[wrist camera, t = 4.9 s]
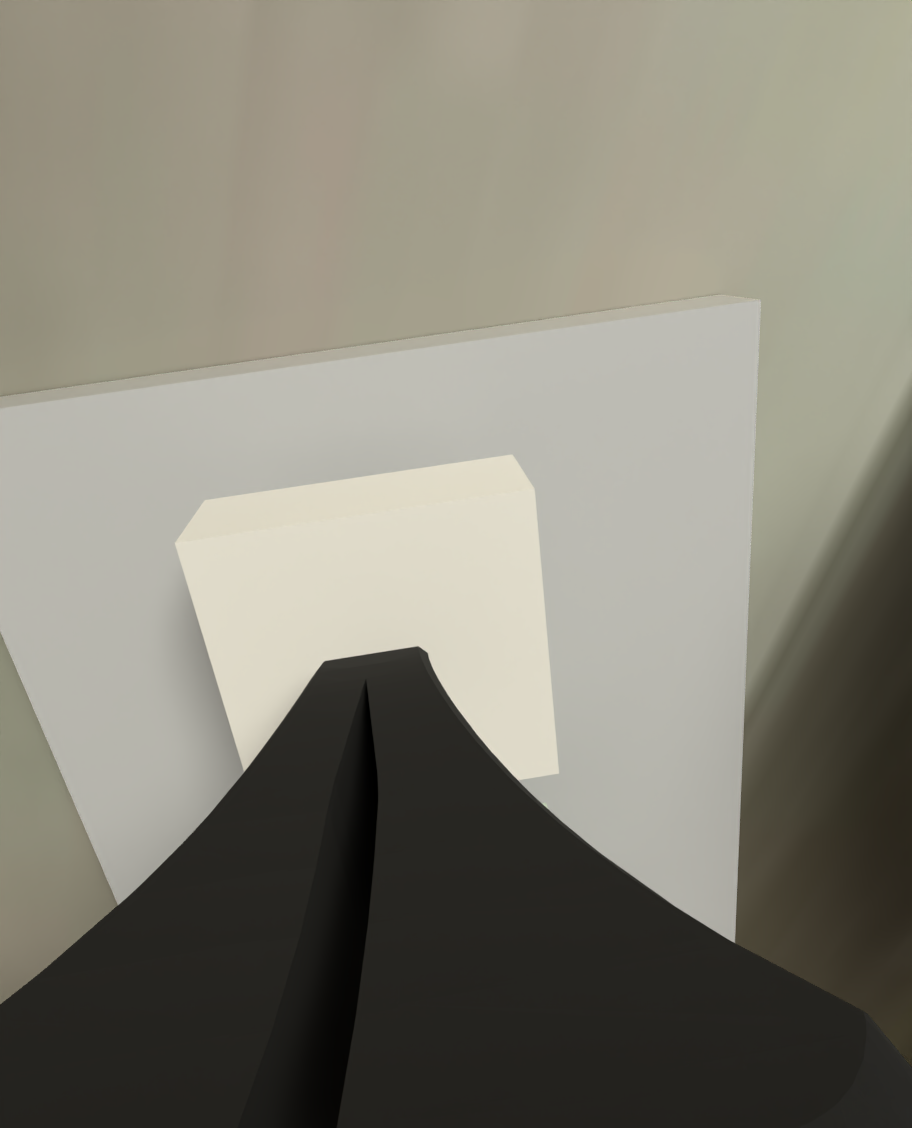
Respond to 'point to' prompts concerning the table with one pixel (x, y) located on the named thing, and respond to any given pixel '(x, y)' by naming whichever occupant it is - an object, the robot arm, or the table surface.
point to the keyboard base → (389, 444)
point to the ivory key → (381, 596)
